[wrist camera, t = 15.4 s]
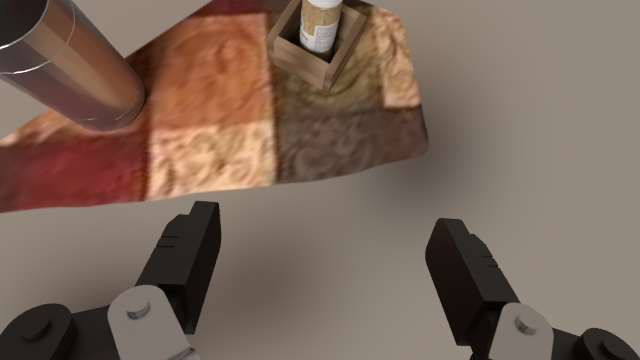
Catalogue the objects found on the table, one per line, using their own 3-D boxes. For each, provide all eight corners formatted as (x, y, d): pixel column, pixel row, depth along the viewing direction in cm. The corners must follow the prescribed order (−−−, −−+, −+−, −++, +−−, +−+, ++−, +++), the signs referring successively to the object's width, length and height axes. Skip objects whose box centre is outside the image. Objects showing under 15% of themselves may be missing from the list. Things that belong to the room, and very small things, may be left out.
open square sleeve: (268, 60, 44) (266, 38, 39) (301, 9, 46) (303, -18, 41) (328, 93, 44) (333, 74, 39) (358, 40, 46) (367, 16, 41)
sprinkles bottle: (294, 40, 45) (296, -43, 32) (327, 34, 46) (342, -51, 33) (303, 70, 45) (309, -2, 31) (336, 64, 45) (355, -10, 32)
